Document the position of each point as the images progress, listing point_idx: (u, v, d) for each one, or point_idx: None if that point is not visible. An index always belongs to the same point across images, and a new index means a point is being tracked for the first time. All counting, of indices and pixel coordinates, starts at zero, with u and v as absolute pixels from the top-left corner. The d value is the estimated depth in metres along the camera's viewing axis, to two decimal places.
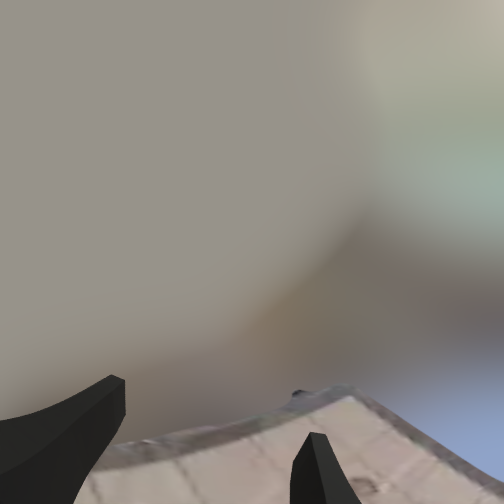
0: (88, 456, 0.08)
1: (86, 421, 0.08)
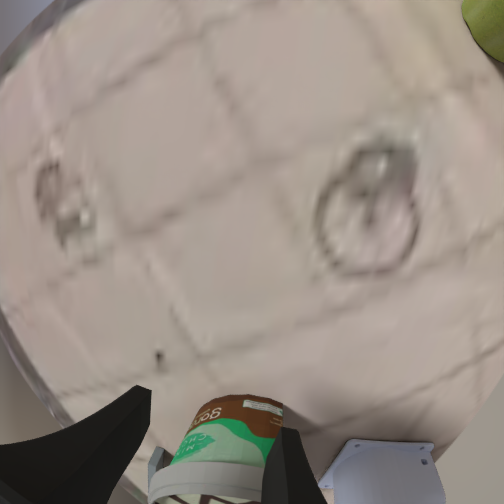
0: (116, 469, 0.08)
1: (116, 435, 0.07)
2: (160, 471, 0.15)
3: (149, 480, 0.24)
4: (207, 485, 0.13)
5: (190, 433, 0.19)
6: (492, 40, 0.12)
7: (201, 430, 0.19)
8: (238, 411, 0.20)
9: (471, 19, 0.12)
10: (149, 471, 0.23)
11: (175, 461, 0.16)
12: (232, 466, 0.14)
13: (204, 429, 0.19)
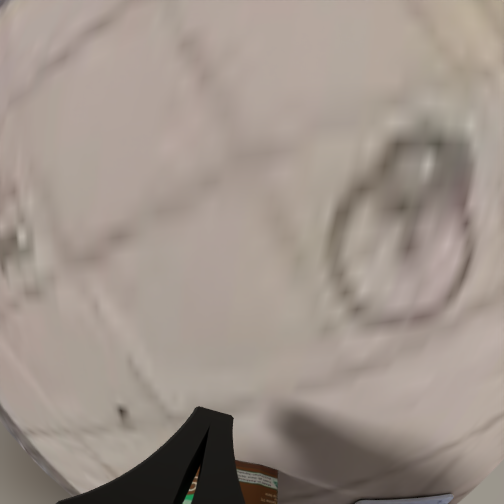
0: (183, 495, 0.08)
1: (191, 463, 0.07)
2: None
3: None
4: None
5: None
6: None
7: None
8: None
9: None
10: None
11: None
12: None
13: None
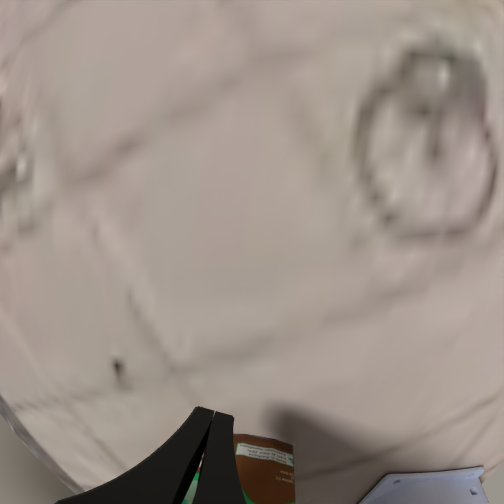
0: (183, 494, 0.08)
1: (191, 463, 0.07)
2: None
3: None
4: None
5: None
6: None
7: None
8: None
9: None
10: None
11: None
12: None
13: None
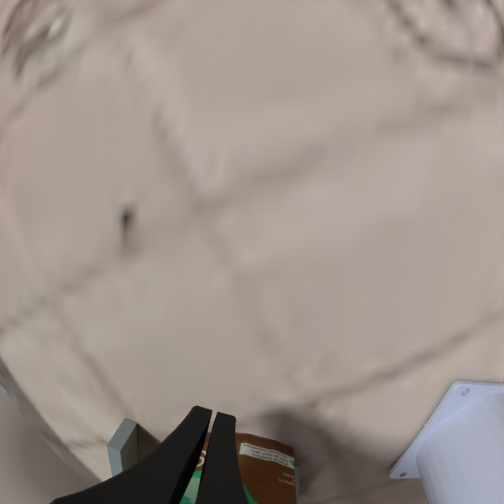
0: (181, 494, 0.08)
1: (188, 462, 0.07)
2: None
3: None
4: None
5: None
6: None
7: None
8: None
9: None
10: (111, 460, 0.13)
11: None
12: None
13: None
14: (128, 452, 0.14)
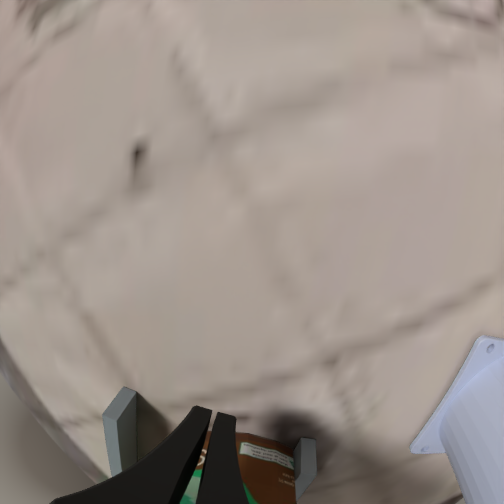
0: (180, 494, 0.08)
1: (188, 462, 0.07)
2: None
3: (109, 453, 0.13)
4: None
5: None
6: None
7: None
8: None
9: None
10: (107, 433, 0.13)
11: None
12: None
13: None
14: (126, 425, 0.14)
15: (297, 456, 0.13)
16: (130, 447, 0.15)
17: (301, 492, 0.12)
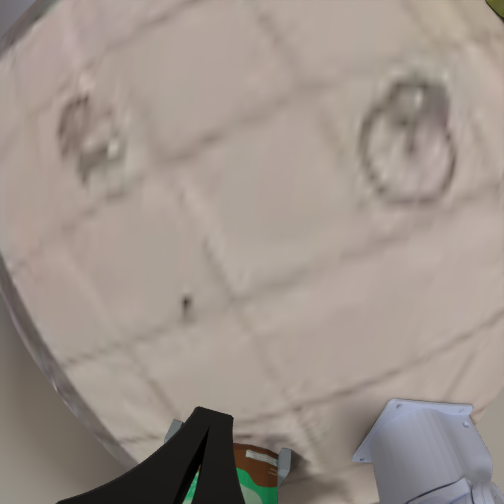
0: (183, 494, 0.08)
1: (191, 463, 0.07)
2: None
3: None
4: None
5: None
6: (503, 2, 0.10)
7: None
8: (242, 460, 0.22)
9: None
10: None
11: (186, 499, 0.18)
12: None
13: None
14: None
15: (279, 459, 0.23)
16: None
17: (282, 480, 0.21)
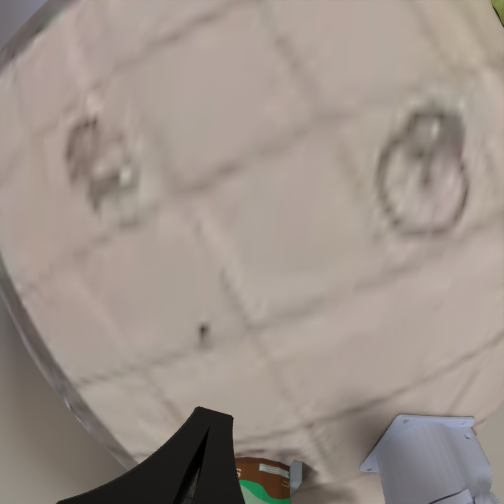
0: (183, 495, 0.08)
1: (191, 463, 0.07)
2: None
3: None
4: None
5: None
6: None
7: None
8: (256, 474, 0.22)
9: (500, 6, 0.11)
10: None
11: None
12: None
13: None
14: None
15: (291, 471, 0.23)
16: None
17: (293, 491, 0.22)
